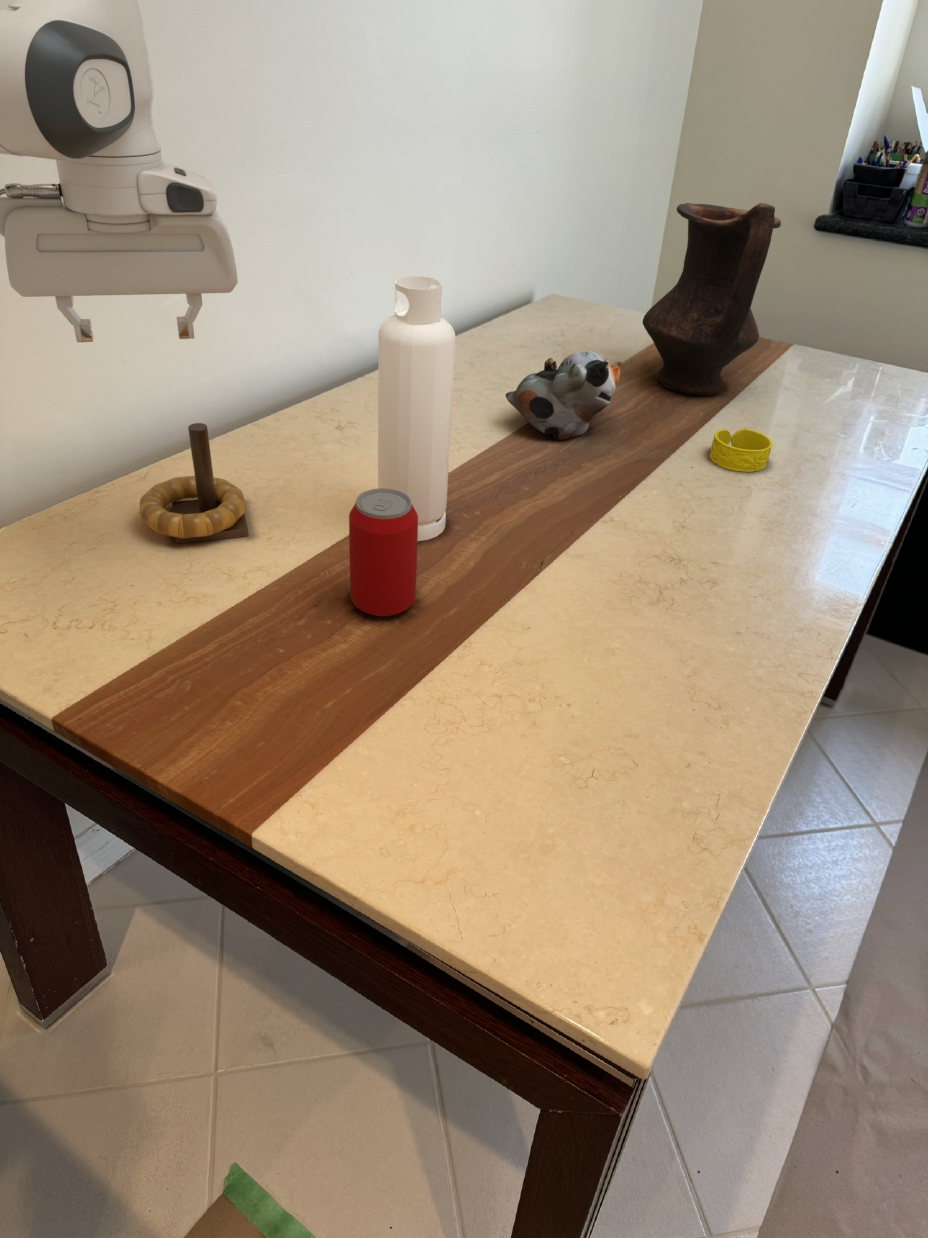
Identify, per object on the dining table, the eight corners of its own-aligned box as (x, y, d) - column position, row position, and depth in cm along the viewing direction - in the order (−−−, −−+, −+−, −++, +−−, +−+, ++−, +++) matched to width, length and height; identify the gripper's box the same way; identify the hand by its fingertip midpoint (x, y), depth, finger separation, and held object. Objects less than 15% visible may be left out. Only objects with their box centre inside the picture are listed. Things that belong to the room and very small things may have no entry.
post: (176, 543, 98) (160, 445, 91) (172, 508, 104) (157, 414, 97) (248, 536, 100) (239, 439, 93) (241, 502, 106) (231, 409, 99)
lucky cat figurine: (539, 397, 138) (594, 323, 130) (590, 448, 135) (649, 376, 127) (489, 396, 126) (546, 315, 118) (544, 453, 123) (606, 373, 115)
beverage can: (424, 593, 93) (429, 493, 86) (400, 628, 88) (402, 525, 81) (366, 578, 95) (366, 479, 87) (339, 612, 89) (336, 509, 82)
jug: (615, 365, 152) (648, 174, 134) (711, 362, 156) (755, 177, 138) (666, 415, 135) (710, 206, 118) (772, 410, 140) (830, 207, 122)
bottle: (457, 532, 103) (473, 289, 87) (397, 547, 100) (401, 298, 83) (424, 501, 109) (434, 268, 92) (366, 515, 105) (364, 275, 89)
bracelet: (776, 470, 122) (782, 449, 120) (724, 473, 120) (730, 452, 118) (750, 447, 128) (756, 426, 126) (701, 450, 126) (706, 428, 124)
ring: (141, 546, 95) (137, 526, 94) (141, 495, 104) (137, 476, 102) (250, 536, 98) (248, 516, 97) (241, 487, 107) (239, 468, 105)
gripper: (-20, 190, 72) (18, 354, 81) (232, 193, 78) (244, 345, 87) (-12, 175, 77) (23, 331, 85) (225, 179, 83) (237, 325, 91)
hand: (136, 338), depth 86 cm, fingers open, 8 cm apart
